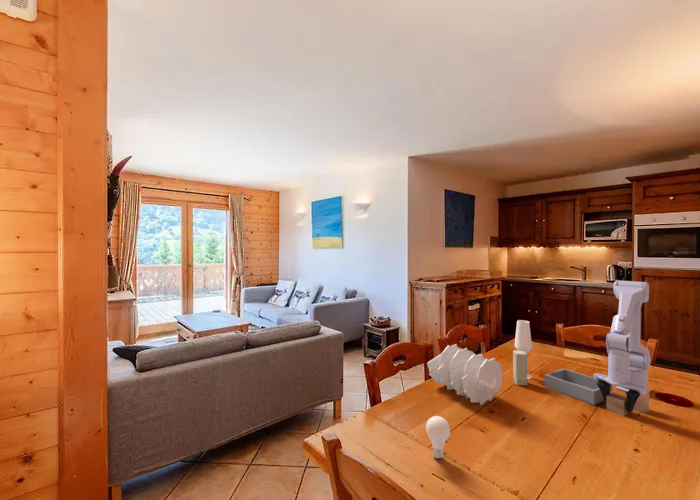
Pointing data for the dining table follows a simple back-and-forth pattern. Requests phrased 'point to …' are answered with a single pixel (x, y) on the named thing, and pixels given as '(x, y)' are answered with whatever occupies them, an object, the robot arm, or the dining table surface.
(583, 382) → the tote
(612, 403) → the walnut cube
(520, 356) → the box
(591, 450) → the dining table surface
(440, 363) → the spiral staircase
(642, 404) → the peach capsule
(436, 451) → the lightbulb
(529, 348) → the champagne flute
